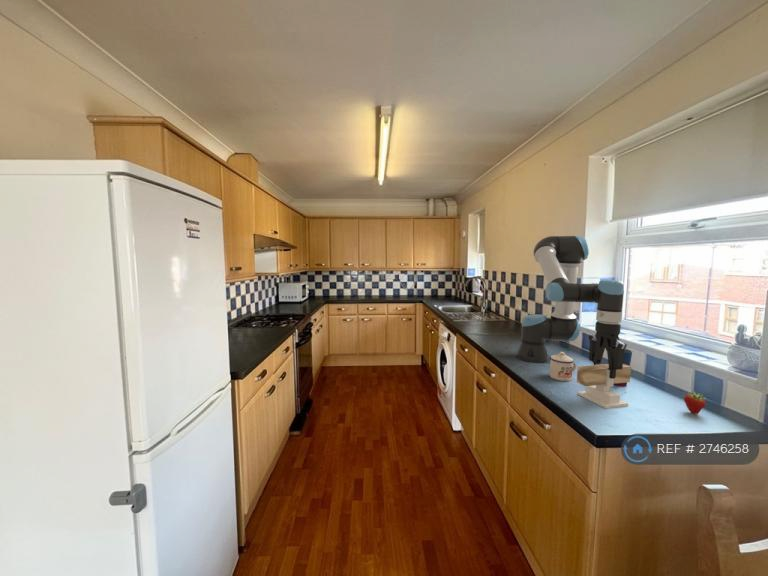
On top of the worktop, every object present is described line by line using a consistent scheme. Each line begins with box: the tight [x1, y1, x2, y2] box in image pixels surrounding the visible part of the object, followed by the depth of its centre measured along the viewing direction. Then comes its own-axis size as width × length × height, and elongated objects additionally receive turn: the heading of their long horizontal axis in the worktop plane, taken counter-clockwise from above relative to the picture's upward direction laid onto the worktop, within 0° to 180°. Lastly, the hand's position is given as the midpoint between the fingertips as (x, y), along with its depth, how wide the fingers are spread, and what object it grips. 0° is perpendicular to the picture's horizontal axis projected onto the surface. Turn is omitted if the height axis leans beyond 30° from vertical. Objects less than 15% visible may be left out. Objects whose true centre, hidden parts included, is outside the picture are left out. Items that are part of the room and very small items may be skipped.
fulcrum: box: [577, 384, 629, 409], centre depth 117 cm, size 12×10×7 cm
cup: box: [613, 348, 633, 388], centre depth 132 cm, size 7×7×15 cm
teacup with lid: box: [549, 351, 577, 382], centre depth 139 cm, size 12×9×12 cm
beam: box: [576, 363, 632, 387], centre depth 116 cm, size 4×20×6 cm, turn 103°
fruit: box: [683, 390, 707, 415], centre depth 107 cm, size 5×5×8 cm
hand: (603, 383), depth 116 cm, fingers closed on beam, 4 cm apart
